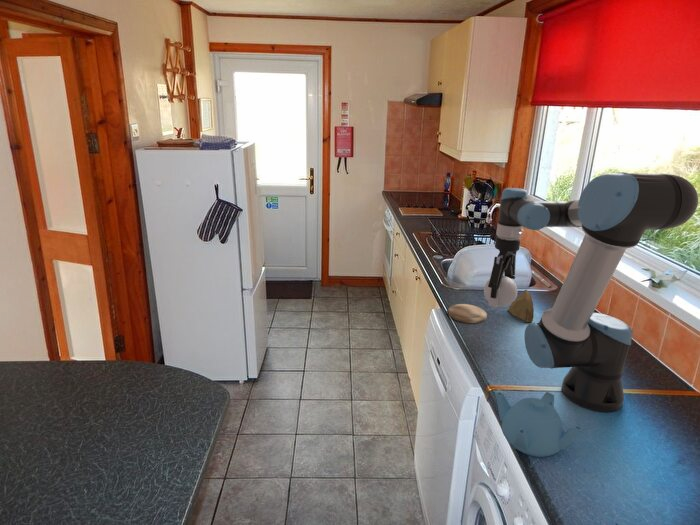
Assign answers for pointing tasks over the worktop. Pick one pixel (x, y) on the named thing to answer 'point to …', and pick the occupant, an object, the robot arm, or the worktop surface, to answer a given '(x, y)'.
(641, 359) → the worktop surface
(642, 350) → the worktop surface
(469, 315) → the trivet
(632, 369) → the worktop surface
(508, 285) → the ornament
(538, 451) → the teapot
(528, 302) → the rock
